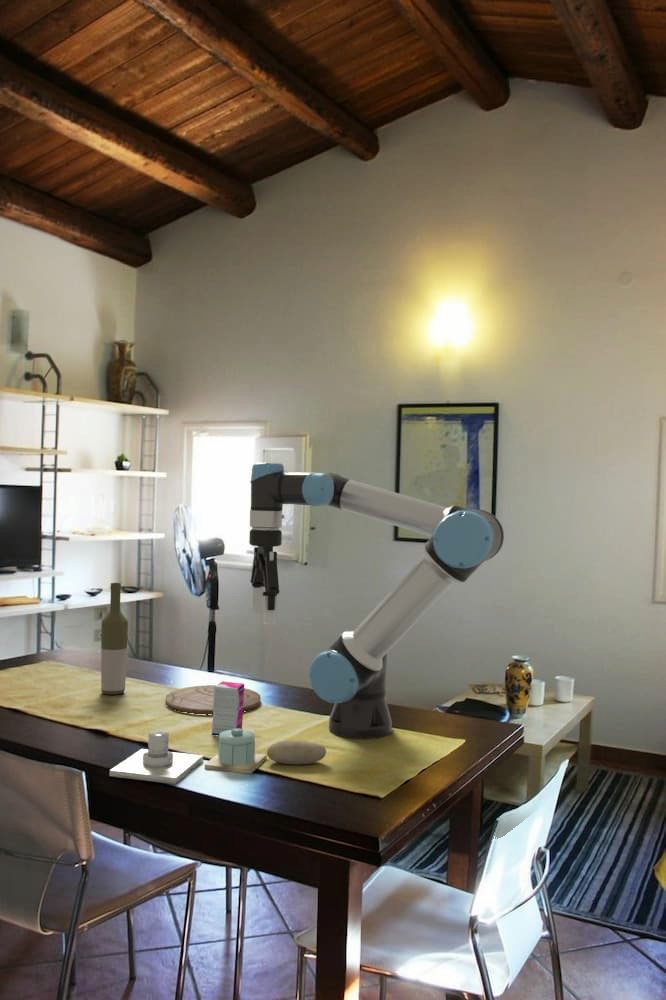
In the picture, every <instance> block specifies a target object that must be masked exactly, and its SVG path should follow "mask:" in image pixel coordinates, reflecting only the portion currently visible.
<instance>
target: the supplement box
mask: <svg viewBox="0 0 666 1000" xmlns="http://www.w3.org/2000/svg"><path fill="white" fill-rule="evenodd" d="M215 685H216V686H215V687H214V704H213V716H212V726H211V736H212V735H219V734H220V733H221V732H223V731H227V730H232V729H235V728H239V729H243V719H244V717H243V716H244V713H243V700H244V688H245V683H242V682H241V683H240V682H232V681H231V682H230V681H221V682H220V683H218V684H215Z"/></svg>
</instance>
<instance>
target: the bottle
mask: <svg viewBox="0 0 666 1000" xmlns="http://www.w3.org/2000/svg"><path fill="white" fill-rule="evenodd" d="M121 588H122V583H121V582H111V583H110V588H109V589H110V601H109V602H110V604H109V605H110V607H109V608H110V609H109V611H108V613H107V614H106V616H104V618H103V619H102V621H101V630H100V632H101V633H100V634H101V635H100V636H101V639H100V641H101V644H100V645H101V647H100V649H101V652H100V653H101V655H100V657H101V659H100V660H101V661H100V662H101V667H100V669H101V670H100V672H101V673H100V676H101V677H100V679H101V680H100V681H101V682H100V683H101V684H100V688H101V693H103V694H104V695H108V696H116V695H120V694H122V693H124V692H125V690H126V682H127V681H126V678H127V677H126V676H127V659H128V658H127V655H128V654H127V653H128V633H129V621H128V618H127V617H126V616H125V615H124V614H123V613H122V612H121Z"/></svg>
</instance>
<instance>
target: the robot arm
mask: <svg viewBox="0 0 666 1000" xmlns="http://www.w3.org/2000/svg"><path fill="white" fill-rule="evenodd" d="M250 477H251V478H250V509H249V510H250V511H249V527H251V529H250V530H249V538H248V539H249V545H250V546H253V547H254V548H253V552H254V553H253V561H252V568H251V575H250V576H251V577H250V580H249V581H250V584H251V587H252V591H251V615H252V616H262V615H263V621H262V622H263V623H262V624H263V625H277V624H276V623H277V596H278V595H279V594H280V586H279V585H280V584H279V574H278V553H277V551H274V547H280V546H281V545H283V544H282V540H283V536H282V535H283V532H282V530H281V528H282V526H283V520H284V519H285V514H283V506H284V505H297V506H311V507H321V506H329V507H333V508H335V509H340V510H343V511H347V512H349V513H353V514H357V515H360V516H363V517H366V518H369V519H372V520H375V521H378V522H383V523H385V524H388V525H391V526H394V527H395V526H396V527H398V528H402V529H405V530H408V531H411V532H414V533H418V534H420V535H424V536H427V537H430V538H429V539H428V540H427V541H426V543H424V545H423V555H422V557H421V558H420V559H419V560H418V561H417V562H416V563H415V565H414V566H413V567H412V568H411V569H410V570H409V571H408V572H407V573H406V575H404V576H403V577H402V578H401V580H400V581H398V583H397V584H396V585H395V586H394V587H393V588H392V589H391V590H390V591H389V592H388V594H387V595H386V596H385V597H384V598H383V599H382V600H381V601H380V602H379V603H378V605H376V607H374V609H373V610H371V612H370V613H369V614H368V615H367V616H366V617H365V619H363V621H362V622H361V623H360V624H359V625H358V626H357V627H356V628H355V629H354V630H345V631H343V632H341V633H340V635H339V636H338V638H337V639H336V640H335V641H334V642H333V643H332V644H331V645H330V646H329V648H327V649H326V650H325V651H322V652H320V653H318V655H316V656H315V658H314V659H313V660H312V662H311V664H310V666H309V672H308V673H309V683H310V684H311V687H312V689H313V691H314V693H316V695H317V696H318V697H319V698H320V699H322V700H323V701H325V702H327V703H331V704H333V708H332V710H331V713H330V716H329V718H328V729H329V731H330V732H332V733H333V734H335V735H338V736H341V737H345V738H349V739H350V738H351V739H378V738H381V737H385V736H387V735H390V734H391V733H392V730H393V729H392V728H393V723H392V721H393V720H392V717H391V713H390V710H389V707H388V703H387V699H386V692H387V691H386V690H387V660H388V652H389V651H390V650H391V649H392V648H393V647H394V646H395V645H396V644H397V643H398V642H399V641H400V640H401V639H402V638H403V636H404V635H406V634H407V632H408V631H410V629H411V628H412V627H413V626H414V625H415V624H416V623H417V622H418V621H419V620H420V619H421V618H422V616H424V615H425V613H426V612H427V611H429V609H430V608H431V607H432V606H433V605H434V604H435V603H436V602H437V601H438V600H439V599H440V598H441V596H443V595H444V593H446V592H447V591H448V589H449V588H450V587H451V586H452V585H454V584H464V583H465V582H466V581H467V580H468V579H469V578H470V577H471V576H472V575H473V573H475V571H477V570H478V569H479V567H480V566H481V565H483V563H484V562H486V561H488V560H491V559H493V558H494V557H495V556H497V555H498V553H499V552H500V550H501V549H502V547H503V545H504V541H505V540H504V539H505V533H504V528H503V525H502V523H501V522H500V520H499V519H498V518H497V517H496V516H495V515H494V514H492V513H491V512H490V511H488V510H482V509H472V508H468V507H463V506H459V505H455V504H453V505H450V506H449V507H446V506H442V505H439V504H437V503H433V502H429V501H426V500H422V499H419V498H415V497H412V496H409V495H405V494H403V493H398V492H394V491H392V490H388V489H385V488H381V487H378V486H373V485H371V484H367V483H363V482H360V481H357V480H353V479H350V478H346V477H343V476H342V475H340V474H338V473H333V472H328V473H327V472H326V473H325V472H319V471H312V472H305V471H301V472H300V471H297V472H296V471H293V472H291V471H290V472H289V471H285V469H284V464H283V463H281V462H280V463H278V462H277V463H276V462H256V463H254V464H253V465H252V467H251V476H250Z"/></svg>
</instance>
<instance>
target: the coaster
mask: <svg viewBox="0 0 666 1000" xmlns="http://www.w3.org/2000/svg"><path fill="white" fill-rule="evenodd" d="M265 758H266V759H267V753H266V754H265V753H256V752H255V760H254V761H253V762H251V763H249V764H246V765H235V766H233V765H232V766H231V765H227V764H222V763H220V761H219V759H218V753H217V754H215V756H213V757H212V758H210V759H209V760H208V761H207V762H206V763H205V764H204V769H205V770H206V769H207V770H215V771H224V772H230V773H231V772H232V773H241V774H250V775H251V774H253V772H254V771H255V770H256V769H257V768H258V767H259V766H260V765H261V764H262V763H263V762H264V761H265V760H266V759H265ZM264 759H265V760H264ZM263 760H264V761H263ZM262 761H263V762H262ZM261 762H262V763H261ZM260 763H261V764H260ZM259 764H260V765H259ZM258 765H259V766H258ZM257 766H258V767H257ZM256 767H257V768H256ZM255 768H256V769H255Z"/></svg>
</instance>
